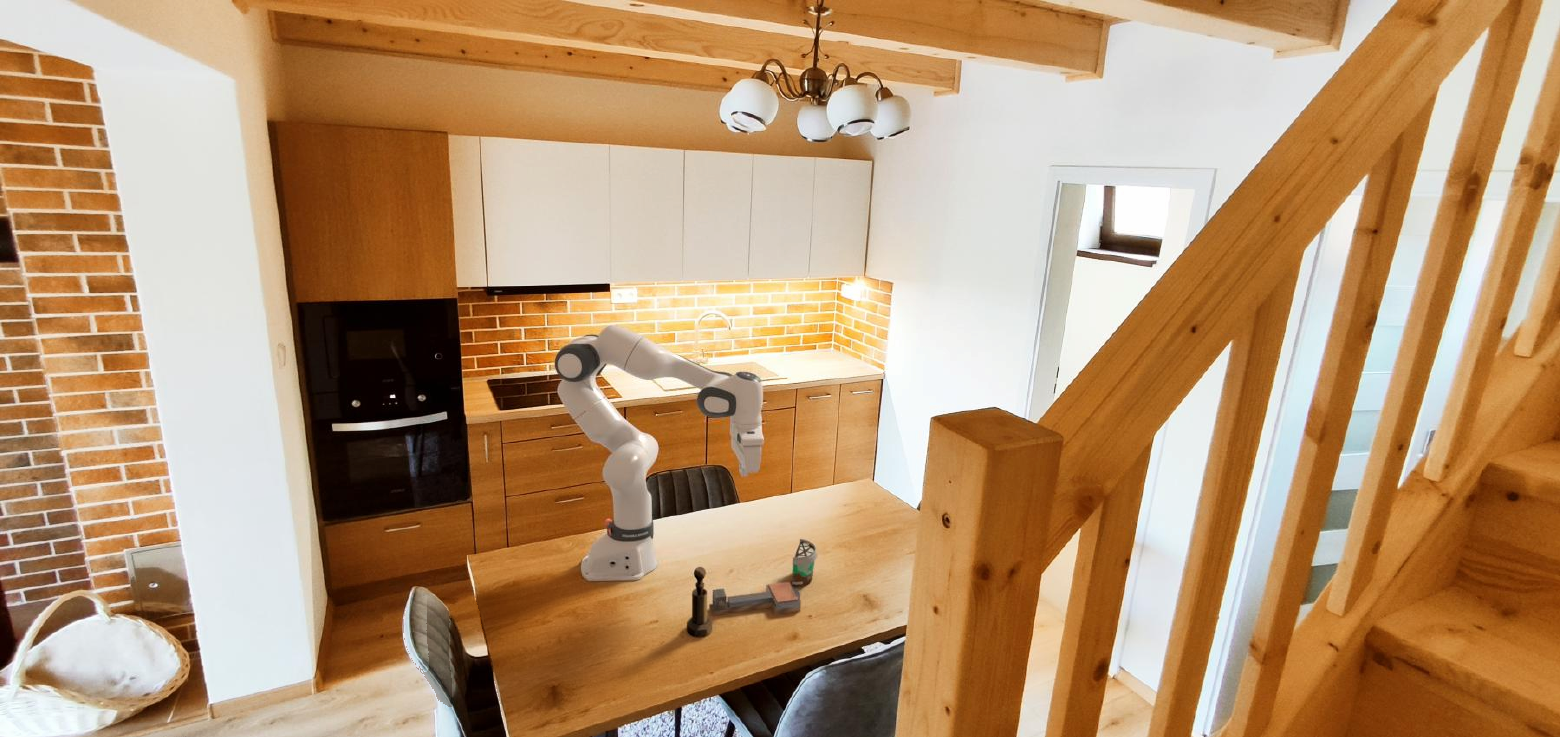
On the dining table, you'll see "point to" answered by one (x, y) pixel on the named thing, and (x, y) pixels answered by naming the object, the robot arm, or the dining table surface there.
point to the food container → (804, 563)
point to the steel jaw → (769, 597)
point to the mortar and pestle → (699, 608)
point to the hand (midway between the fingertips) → (743, 474)
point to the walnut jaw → (722, 606)
